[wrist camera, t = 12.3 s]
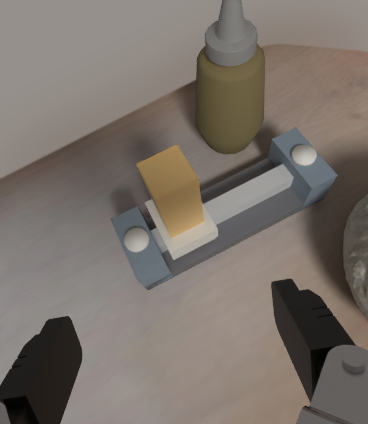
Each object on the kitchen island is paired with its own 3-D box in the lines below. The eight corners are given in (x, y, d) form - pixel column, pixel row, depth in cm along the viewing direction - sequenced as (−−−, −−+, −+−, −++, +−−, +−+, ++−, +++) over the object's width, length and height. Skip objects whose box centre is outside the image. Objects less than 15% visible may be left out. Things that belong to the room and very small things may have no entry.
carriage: (175, 264, 33) (152, 218, 22) (152, 217, 35) (120, 156, 24) (218, 242, 33) (215, 186, 22) (192, 197, 36) (178, 128, 25)
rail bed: (148, 290, 34) (135, 278, 29) (124, 236, 37) (109, 217, 32) (323, 198, 36) (339, 173, 31) (287, 154, 39) (296, 124, 34)
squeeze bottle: (258, 165, 39) (283, 24, 22) (193, 160, 40) (172, 24, 24) (262, 113, 42) (287, -42, 26) (201, 110, 43) (188, -39, 27)
